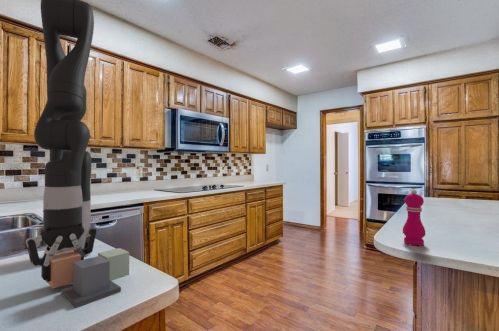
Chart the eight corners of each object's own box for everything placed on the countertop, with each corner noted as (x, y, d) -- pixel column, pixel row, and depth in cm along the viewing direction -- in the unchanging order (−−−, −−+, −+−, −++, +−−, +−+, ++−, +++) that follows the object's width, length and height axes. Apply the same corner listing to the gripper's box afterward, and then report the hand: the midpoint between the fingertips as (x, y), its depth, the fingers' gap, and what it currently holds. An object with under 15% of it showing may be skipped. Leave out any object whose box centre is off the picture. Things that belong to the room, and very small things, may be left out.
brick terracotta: (45, 281, 63) (45, 255, 62) (72, 273, 67) (72, 250, 67) (52, 288, 59) (52, 261, 59) (80, 280, 63) (80, 255, 63)
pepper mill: (425, 247, 93) (426, 190, 93) (402, 244, 97) (402, 189, 97) (425, 242, 100) (425, 189, 100) (402, 239, 103) (403, 188, 103)
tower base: (61, 293, 59) (61, 262, 59) (104, 280, 66) (104, 252, 66) (75, 307, 54) (75, 273, 54) (120, 291, 60) (120, 260, 60)
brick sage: (98, 276, 69) (98, 252, 69) (119, 269, 73) (119, 247, 73) (107, 282, 66) (107, 257, 66) (129, 274, 70) (129, 252, 70)
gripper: (90, 200, 71) (90, 263, 71) (20, 207, 59) (20, 282, 60) (102, 203, 66) (102, 271, 66) (28, 211, 55) (28, 293, 55)
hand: (63, 276), depth 63 cm, fingers closed on brick terracotta, 5 cm apart
